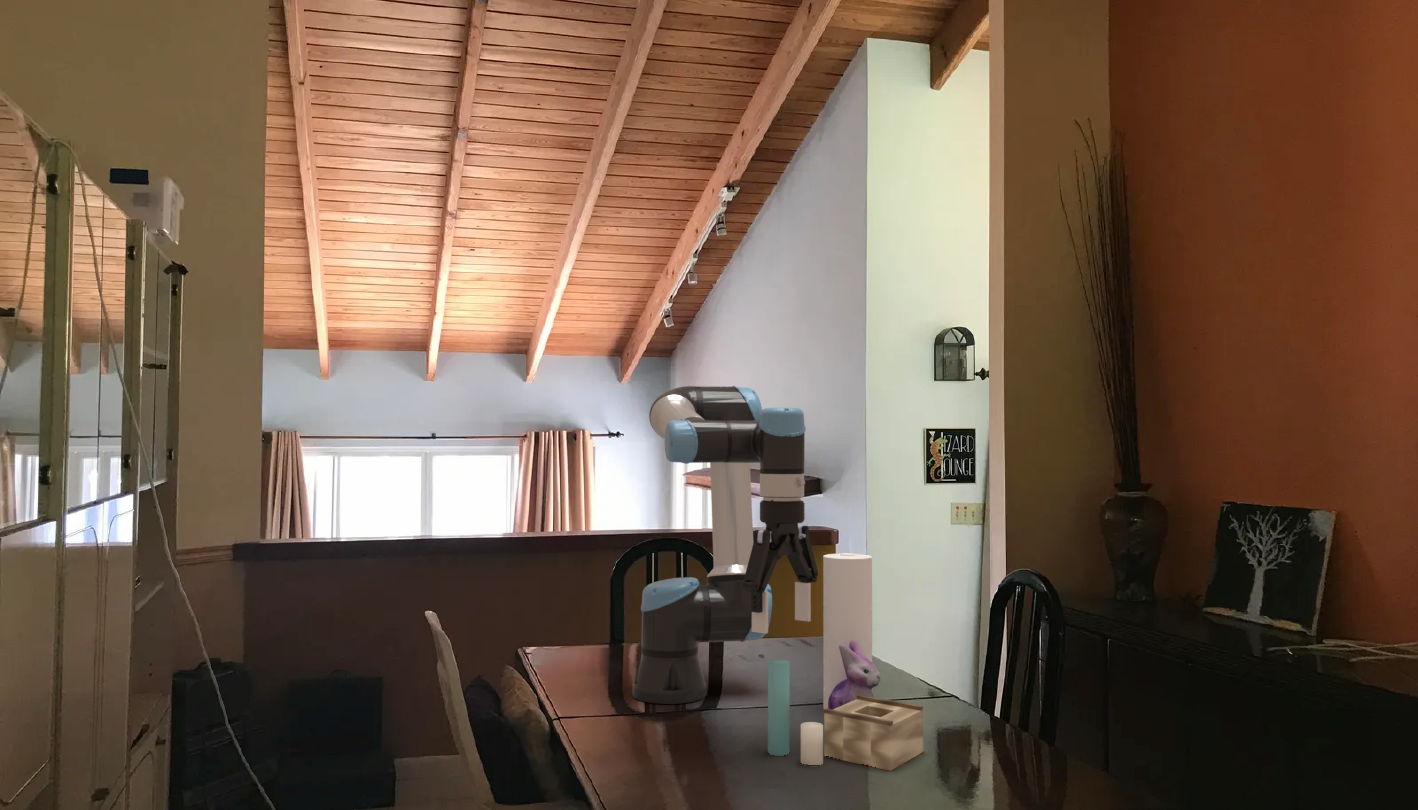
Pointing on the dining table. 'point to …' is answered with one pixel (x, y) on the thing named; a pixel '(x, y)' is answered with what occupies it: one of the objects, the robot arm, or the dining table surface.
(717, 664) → the dining table surface
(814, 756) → the cream peg
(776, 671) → the teal peg
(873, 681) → the figurine
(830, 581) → the cylinder container
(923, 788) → the dining table surface
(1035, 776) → the dining table surface
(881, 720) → the socket block
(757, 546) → the robot arm
